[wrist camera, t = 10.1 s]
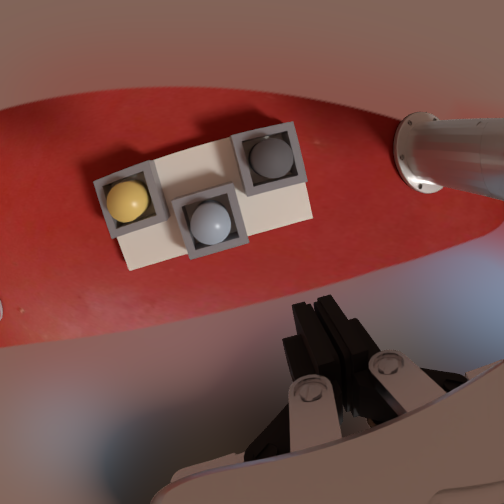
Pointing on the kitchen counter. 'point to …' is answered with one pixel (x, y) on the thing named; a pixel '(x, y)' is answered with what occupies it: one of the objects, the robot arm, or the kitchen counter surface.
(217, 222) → the slate button
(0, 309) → the pill bottle
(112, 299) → the kitchen counter surface
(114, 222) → the console
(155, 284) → the kitchen counter surface
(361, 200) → the kitchen counter surface
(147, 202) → the mustard button
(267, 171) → the charcoal button
